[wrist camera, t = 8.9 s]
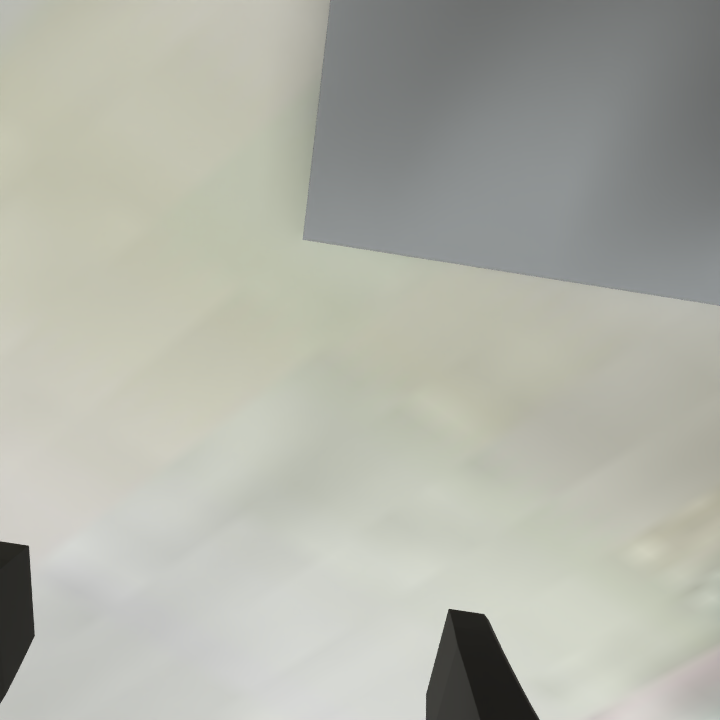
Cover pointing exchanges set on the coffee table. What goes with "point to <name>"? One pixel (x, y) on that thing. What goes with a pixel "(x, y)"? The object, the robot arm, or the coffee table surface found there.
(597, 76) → the mat
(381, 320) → the coffee table surface
